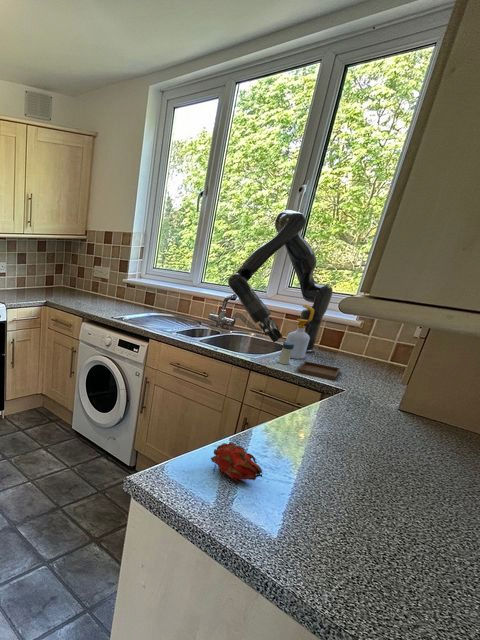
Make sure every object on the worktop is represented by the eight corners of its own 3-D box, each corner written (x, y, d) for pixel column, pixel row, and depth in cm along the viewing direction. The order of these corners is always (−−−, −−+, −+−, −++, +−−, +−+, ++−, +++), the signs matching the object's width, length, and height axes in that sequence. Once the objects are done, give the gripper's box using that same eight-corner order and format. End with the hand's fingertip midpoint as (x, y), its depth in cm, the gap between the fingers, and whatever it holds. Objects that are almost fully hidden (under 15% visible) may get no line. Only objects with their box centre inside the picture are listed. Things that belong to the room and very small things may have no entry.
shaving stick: (279, 360, 189) (284, 342, 185) (289, 363, 186) (295, 344, 183) (277, 362, 186) (282, 343, 182) (287, 365, 183) (293, 345, 180)
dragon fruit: (208, 466, 104) (251, 497, 95) (197, 458, 98) (243, 490, 89) (228, 440, 103) (274, 469, 95) (219, 430, 97) (267, 460, 89)
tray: (303, 364, 185) (305, 361, 184) (338, 371, 177) (340, 368, 176) (297, 372, 174) (298, 368, 173) (334, 380, 166) (335, 376, 165)
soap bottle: (286, 352, 203) (300, 303, 194) (306, 357, 196) (322, 306, 187) (279, 355, 197) (293, 304, 188) (299, 360, 191) (315, 308, 182)
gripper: (261, 307, 180) (283, 337, 177) (268, 303, 190) (289, 332, 187) (245, 317, 185) (266, 346, 182) (253, 313, 195) (274, 341, 193)
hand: (278, 339), depth 185 cm, fingers open, 8 cm apart
